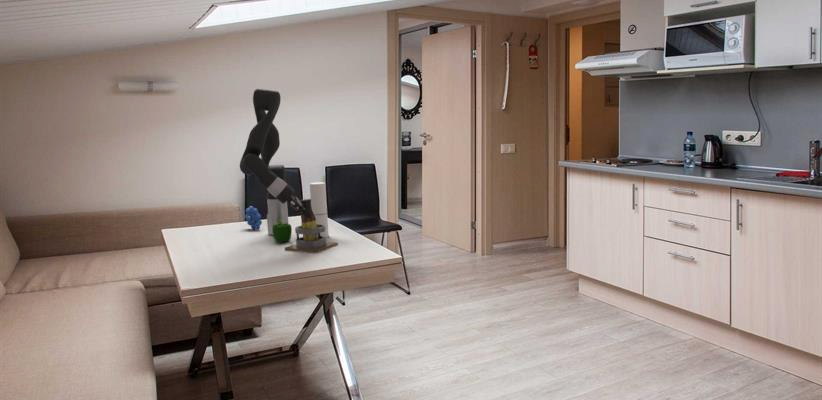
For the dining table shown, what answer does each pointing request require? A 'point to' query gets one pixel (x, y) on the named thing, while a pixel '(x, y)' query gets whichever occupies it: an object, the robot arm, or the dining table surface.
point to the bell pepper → (282, 232)
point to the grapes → (253, 217)
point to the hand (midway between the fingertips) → (309, 215)
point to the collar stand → (311, 245)
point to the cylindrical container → (319, 204)
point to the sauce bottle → (308, 220)
